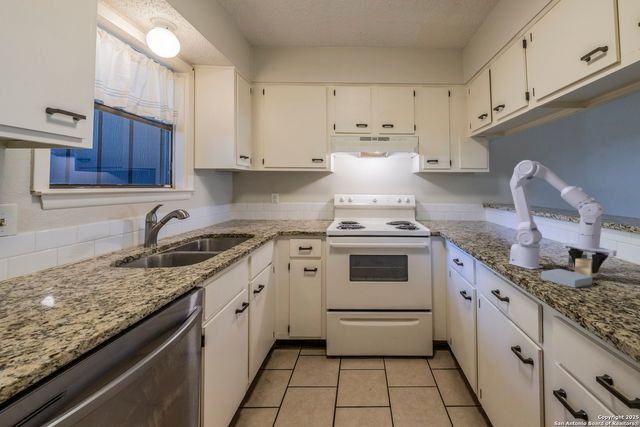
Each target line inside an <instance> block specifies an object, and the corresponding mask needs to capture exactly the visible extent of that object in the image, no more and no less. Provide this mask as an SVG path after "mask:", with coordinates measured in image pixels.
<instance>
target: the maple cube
mask: <svg viewBox="0 0 640 427" xmlns="http://www.w3.org/2000/svg"><path fill="white" fill-rule="evenodd" d="M592 266H593V262H592V258H588V257H587V258H577V259H576V261H575V270H574V272H575V273H579V274H583V275H588V276H592V277H593V278H598V273H596V274H593V273H592Z"/></svg>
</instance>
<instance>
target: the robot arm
mask: <svg viewBox="0 0 640 427" xmlns="http://www.w3.org/2000/svg"><path fill="white" fill-rule="evenodd" d="M534 178H539V179H542V180H544V181H546V182H547V183H548V184H550V185H551V186H552V187H553V188H555V189H556V190H558V191H559V192H560V198H562V199H563V200H564V201H565V202H566V203H568V204H569V205H570V206H571V207H573V208H574V209H575V210H578V214H579V216H580V217H579V218H580V221H579V224H578V236H577V243H569V242H563V243H562V249H568V250H567V253H568V256H569V255H570V256H571V258H572V260H573V264H574V268H575V261H576V259H577V258H582V255H583V252H584V251H585V252H587V253H590V254H591V253H592V254H591V259H592V262H593V266H592V273H593V274H596V273H597V274H598V273H599V270H600V268H601V266H602V265H603V263H604V262H605V261H606V260H607V259H608V258H609V257H614V258H615V257H616V256H617V250H616V249H615V250H614V249H609V248H604V247H600V242H601V233H602V224H603V223H602V219H603V218H602V216H601V215H603V213H604V211H605V208H604V205H602V203H601V202H599V201H595V200H596V199H595V197H590V196H589V195H588V194H587V193H585V191H584V188H583V187H578V186H575V185H574V186H573V185H571V186H570V185H569V184H568V183H566V182H565V181H564V180H563V179H561V177H560V176H558V175H557V174H556V173H555V172H553V171H552V170H551V169H549V168H548V167H547V166H545V165H543V164H541V163H540V162H539V161H535V160H533V161H532V160H529V159H526V160H525V159H524V160H522V161H520V162H519V163H517V165H516V166H515V167H514V168H513V174H512V176H511V179H510V180H509V188H510V191H511V195H512V200H513V204H514V207H515V212H516V217H517V221H518V226H517V235H516V241H517V242H518V243H513V244H512V245H511V248H510V251H509V252H510V253H509V262H508V264H509V265H513V266H517V267H519V268H520V267H521V268H524V269H528V270H536V269H543V268H544V265H540V264H539V263H540V250H541V245H540V244H539V242H541V241H542V238H543V234H542V232H541V231H540V230H539V229H538V226H537V224H536V222H535V220H534V216H533V212H532V208H531V205H530V198H529V196H528V191H527V187H526V186H527V184H528V183H529V182H530V181H531V180H532V179H534Z"/></svg>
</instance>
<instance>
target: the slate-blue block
mask: <svg viewBox="0 0 640 427" xmlns="http://www.w3.org/2000/svg"><path fill="white" fill-rule="evenodd" d="M540 274H541V275H540V279H541V280H545V281H548V282H552V283H556V284H560V285H562V286H563V285H564V286H566V285H567V286H566V287H570V286H571V287H570V288H573V287H574V288H575V289H576V288H580V287H584V286H588V285H592V284H593V278H594V277H592V276H588V275H583V274H579V273H575V271H571V270H566V269H562V268H555V269H550V270H543V271H541V272H540Z"/></svg>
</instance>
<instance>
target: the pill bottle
mask: <svg viewBox="0 0 640 427" xmlns="http://www.w3.org/2000/svg"><path fill="white" fill-rule="evenodd" d="M582 258H587V259H588V252H585V251H584V252H583V255H582ZM567 263H568V264H567V268H568V269H569V270H573V271H575V268H574V264H573V260H572V258H571V256H570V255H569V254H568V262H567Z"/></svg>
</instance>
